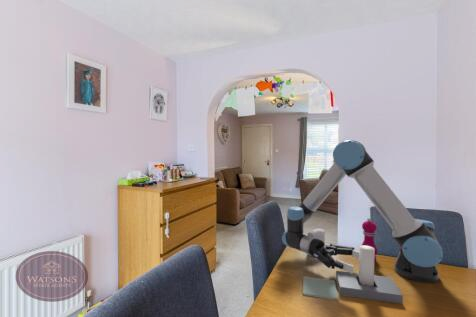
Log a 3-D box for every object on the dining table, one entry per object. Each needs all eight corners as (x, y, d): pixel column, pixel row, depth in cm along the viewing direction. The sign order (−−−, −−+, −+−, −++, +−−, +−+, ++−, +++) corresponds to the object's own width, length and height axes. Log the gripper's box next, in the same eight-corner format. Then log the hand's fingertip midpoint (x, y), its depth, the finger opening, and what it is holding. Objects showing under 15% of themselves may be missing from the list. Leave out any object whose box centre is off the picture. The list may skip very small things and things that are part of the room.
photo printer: (319, 249, 128) (319, 226, 128) (325, 252, 125) (326, 228, 124) (305, 254, 123) (305, 230, 122) (312, 257, 119) (312, 232, 119)
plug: (371, 287, 94) (372, 246, 93) (375, 294, 89) (376, 251, 88) (357, 285, 95) (358, 244, 94) (360, 292, 90) (361, 250, 89)
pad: (334, 281, 97) (334, 280, 97) (338, 300, 86) (338, 298, 86) (303, 277, 100) (303, 276, 100) (302, 294, 89) (302, 293, 89)
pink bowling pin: (360, 261, 114) (361, 219, 114) (359, 255, 121) (360, 215, 120) (378, 264, 112) (379, 221, 111) (376, 257, 118) (376, 217, 118)
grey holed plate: (390, 284, 95) (390, 277, 95) (402, 303, 83) (402, 295, 83) (335, 277, 100) (336, 270, 100) (339, 294, 89) (339, 286, 89)
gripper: (327, 247, 117) (374, 263, 101) (295, 263, 101) (344, 285, 85) (327, 232, 117) (375, 245, 100) (295, 245, 101) (345, 264, 85)
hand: (361, 263), depth 93 cm, fingers open, 13 cm apart
